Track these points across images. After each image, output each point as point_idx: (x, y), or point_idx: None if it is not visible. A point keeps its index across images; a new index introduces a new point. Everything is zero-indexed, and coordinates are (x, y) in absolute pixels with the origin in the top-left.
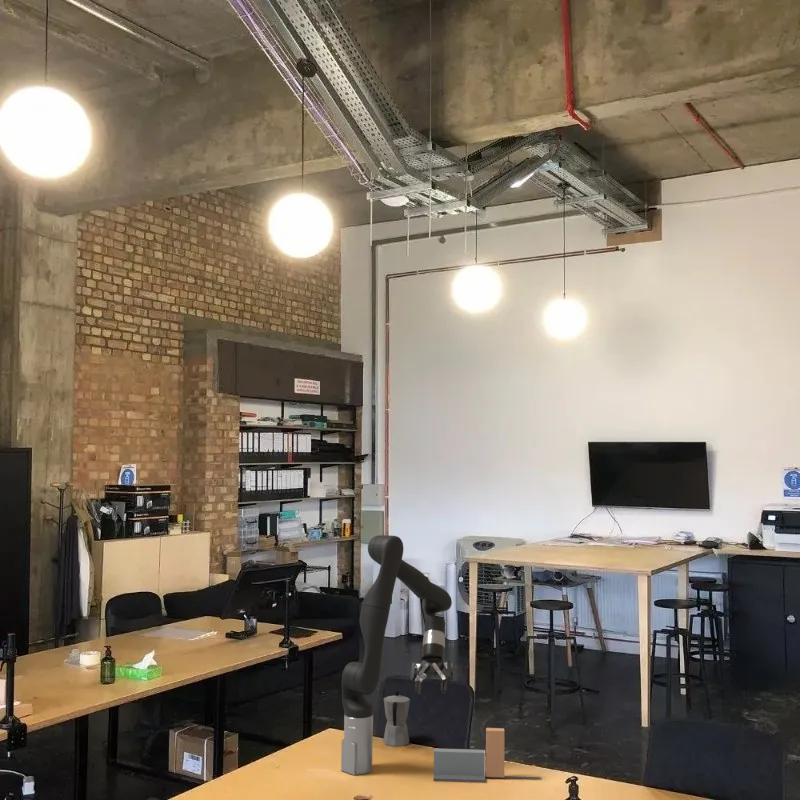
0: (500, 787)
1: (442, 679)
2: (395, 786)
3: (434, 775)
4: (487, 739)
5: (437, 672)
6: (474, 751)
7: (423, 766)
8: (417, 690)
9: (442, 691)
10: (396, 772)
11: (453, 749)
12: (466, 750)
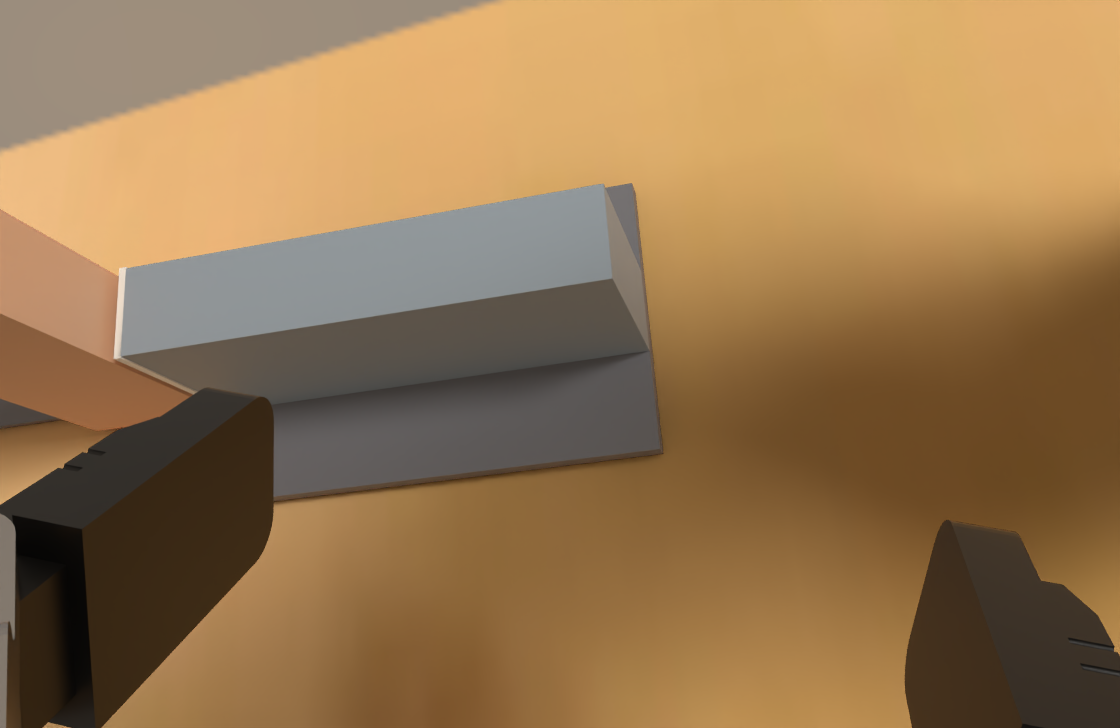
0: (154, 204)
1: (21, 598)
2: (924, 4)
3: (631, 247)
4: (6, 221)
5: (6, 691)
6: (210, 286)
7: (779, 531)
8: (981, 539)
9: (228, 395)
10: (1007, 311)
11: (408, 292)
12: (282, 296)
